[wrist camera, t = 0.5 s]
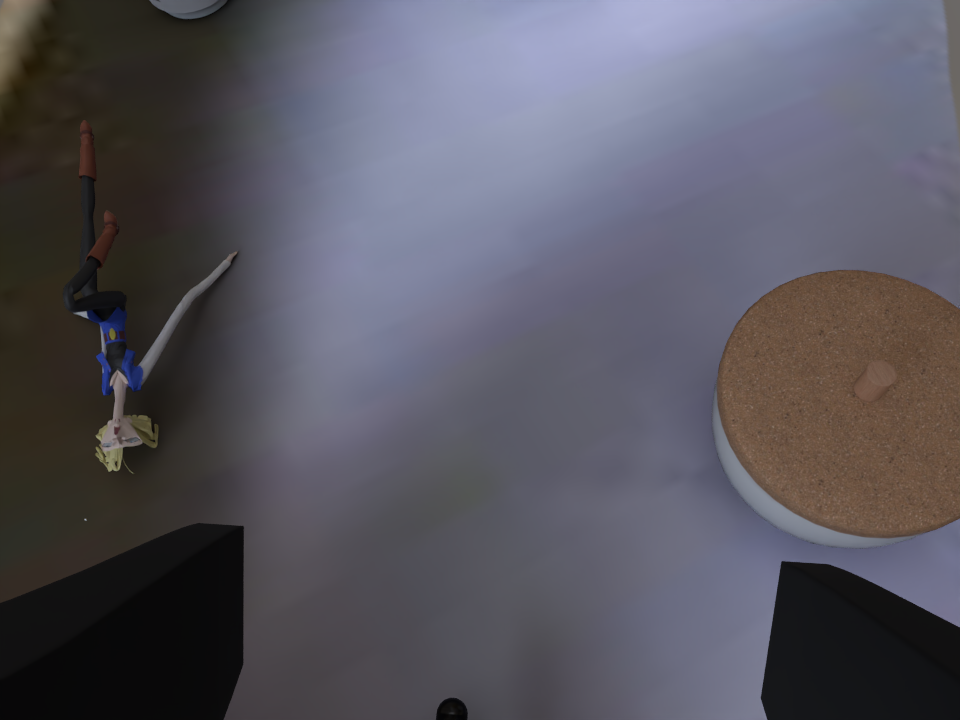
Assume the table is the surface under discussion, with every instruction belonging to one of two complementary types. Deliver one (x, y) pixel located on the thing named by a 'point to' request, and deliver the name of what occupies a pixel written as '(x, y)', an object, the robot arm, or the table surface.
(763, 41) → the table surface
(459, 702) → the pan
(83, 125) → the figurine
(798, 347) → the trinket box
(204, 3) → the energy drink can
